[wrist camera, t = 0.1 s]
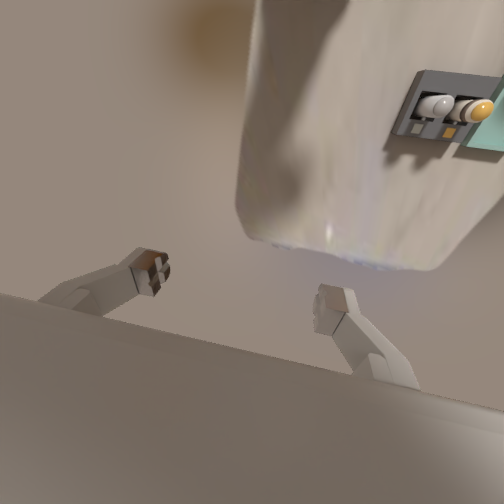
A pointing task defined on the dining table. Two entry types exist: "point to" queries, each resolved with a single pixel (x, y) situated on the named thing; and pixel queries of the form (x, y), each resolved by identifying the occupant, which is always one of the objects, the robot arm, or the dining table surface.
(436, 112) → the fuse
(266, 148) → the dining table surface
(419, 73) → the fuse block
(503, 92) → the parts tray
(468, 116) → the cylinder
